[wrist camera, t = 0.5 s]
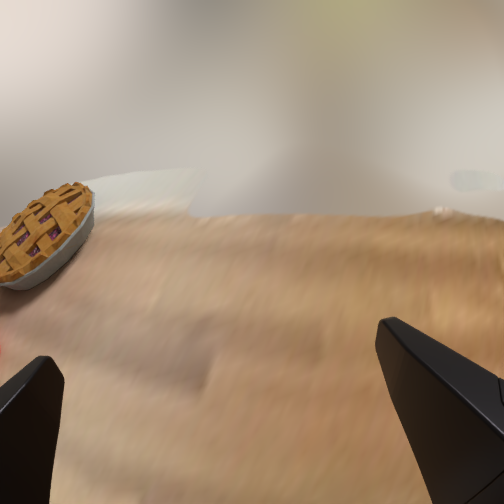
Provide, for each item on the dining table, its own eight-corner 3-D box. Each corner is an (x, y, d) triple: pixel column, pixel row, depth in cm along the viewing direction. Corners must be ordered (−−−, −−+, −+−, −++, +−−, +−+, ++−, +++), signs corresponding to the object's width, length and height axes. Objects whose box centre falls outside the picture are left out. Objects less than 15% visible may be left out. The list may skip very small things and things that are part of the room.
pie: (70, 192, 54) (59, 171, 50) (129, 213, 42) (114, 185, 39) (-10, 268, 43) (-26, 249, 39) (18, 324, 31) (-6, 300, 28)
